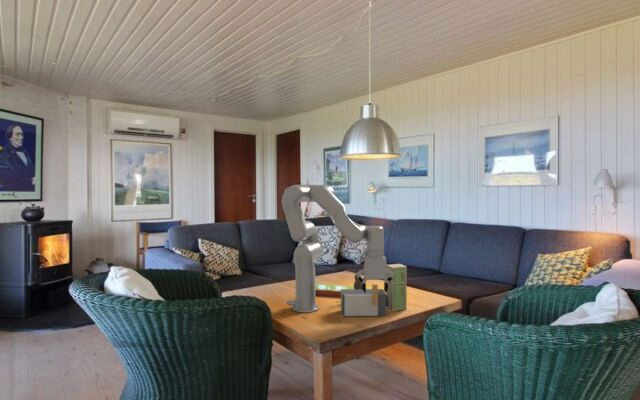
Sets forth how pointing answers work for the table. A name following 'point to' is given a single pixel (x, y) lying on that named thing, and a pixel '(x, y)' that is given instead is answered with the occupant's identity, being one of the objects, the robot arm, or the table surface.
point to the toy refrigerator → (397, 287)
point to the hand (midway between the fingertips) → (375, 291)
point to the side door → (362, 304)
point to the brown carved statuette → (357, 282)
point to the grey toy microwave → (382, 296)
